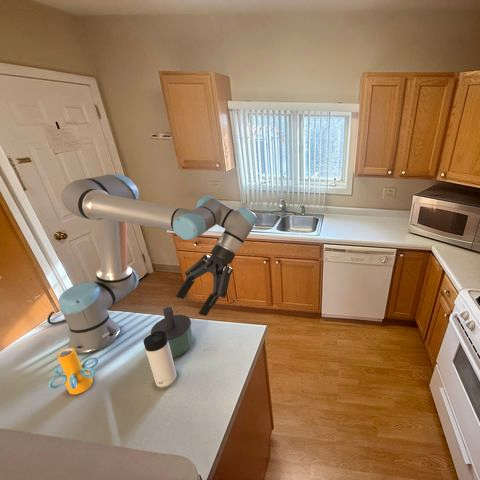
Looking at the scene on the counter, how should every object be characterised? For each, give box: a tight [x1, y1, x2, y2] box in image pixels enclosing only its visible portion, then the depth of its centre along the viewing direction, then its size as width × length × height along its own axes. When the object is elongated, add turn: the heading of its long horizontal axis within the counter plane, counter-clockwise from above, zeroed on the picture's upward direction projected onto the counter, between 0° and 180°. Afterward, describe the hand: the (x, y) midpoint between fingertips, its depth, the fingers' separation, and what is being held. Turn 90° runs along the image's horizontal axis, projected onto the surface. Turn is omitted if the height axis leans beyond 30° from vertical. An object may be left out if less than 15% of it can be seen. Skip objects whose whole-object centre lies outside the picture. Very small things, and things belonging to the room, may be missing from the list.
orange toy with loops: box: [47, 347, 99, 395], centre depth 80 cm, size 12×10×15 cm
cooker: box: [168, 325, 194, 359], centre depth 99 cm, size 12×12×10 cm
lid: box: [150, 306, 192, 340], centre depth 95 cm, size 13×13×9 cm
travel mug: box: [143, 331, 178, 389], centre depth 83 cm, size 6×7×20 cm
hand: (190, 305), depth 81 cm, fingers open, 13 cm apart
